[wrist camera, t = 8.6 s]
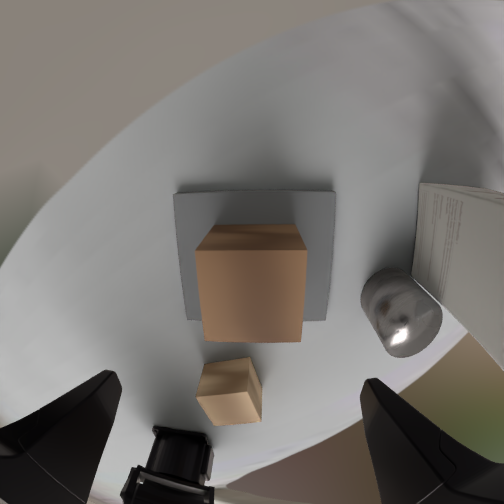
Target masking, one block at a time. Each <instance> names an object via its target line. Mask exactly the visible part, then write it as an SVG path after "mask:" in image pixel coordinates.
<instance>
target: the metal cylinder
mask: <svg viewBox="0 0 504 504" xmlns="http://www.w3.org/2000/svg"><path fill="white" fill-rule="evenodd" d="M361 306H362V309H363V310H364V312H365V314H366V316H367V317H368V319H369V321H370V323H371V324H372V326H373V328H374V330H375V331H376V333H377V335H378V337H379V338H380V340H381V342H382V344H383V346H384V347H385V349H386V351H387V352H388V353H389V354H390V355H391V356H394V357H398V358H405V357H409V356H412V355H415V354H417V353H419V352H420V351H422V350H423V349H425V348H426V347H427V346H428V345H429V344H430V343H431V342H432V341H433V339H434V338H435V337H436V335H437V334H438V332H439V329H440V327H441V324H442V310H441V307H440V306H439V304H438V303H437V302H436V301H435V300H434V299H433V298H432V297H431V296H430V295H429V294H428V293H427V292H425V291H424V290H423V289H422V288H421V287H420V286H419V285H418V284H417V283H416V282H415V281H414V280H413V279H412V278H411V277H410V276H409V275H407V274H406V273H405V272H404V271H403V270H401V269H399V268H392V267H391V268H385V269H382V270H380V271H378V272H377V273H375V274H374V275H373V276H372V277H371V278H370V279H369V280H368V281H367V282H366V284H365V286H364V288H363V290H362V293H361Z"/></svg>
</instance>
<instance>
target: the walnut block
mask: <svg viewBox="0 0 504 504" xmlns="http://www.w3.org/2000/svg"><path fill="white" fill-rule="evenodd" d="M195 258H196V269H197V279H198V289H199V298H200V307H201V315H202V323H203V331H204V338H205V341H217V342H255V343H277V342H301V334H302V323H303V311H304V298H305V284H306V268H307V248H306V246H305V244H304V242H303V240H302V237H301V235H300V233H299V231H298V229H297V227H296V225H295V224H240V225H214V226H213V227H212V228H211V230H210V231H209V232H208V234H207V235H206V236H205V238H204V239H203V240H202V242H201V243H200V244H199V246H198V247H197V248H196V250H195Z"/></svg>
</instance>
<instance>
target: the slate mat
mask: <svg viewBox="0 0 504 504" xmlns="http://www.w3.org/2000/svg"><path fill="white" fill-rule="evenodd" d="M173 199H174V212H175V224H176V235H177V245H178V255H179V263H180V272H181V280H182V287H183V295H184V302H185V308H186V315H187V320H200V321H202V315H201V307H200V298H199V289H198V279H197V269H196V258H195V250H196V248H197V247H198V246H199V244H200V243H201V242H202V240H203V239H204V238H205V236H206V235H207V234H208V232H209V231H210V230H211V228H212V227H213V226H214V225H240V224H295V225H296V227H297V229H298V231H299V233H300V235H301V237H302V240H303V242H304V244H305V246H306V248H307V268H306V284H305V298H304V311H303V321H325V320H326V314H327V306H328V297H329V288H330V278H331V267H332V255H333V241H334V225H335V204H336V192H334V191H319V190H235V191H206V192H185V193H176V194H173Z"/></svg>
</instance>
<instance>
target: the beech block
mask: <svg viewBox="0 0 504 504" xmlns="http://www.w3.org/2000/svg"><path fill="white" fill-rule="evenodd" d="M196 399H197V400H198V402H199V403H200V405H201V406H202V408H203V410H204V411H205V413H206V414H207V416H208V417H209V419H210V420H211V422H212V423H213V425H214V426H221V425H234V424H245V423H254V422H261V415H262V387H261V384H260V381H259V379H258V376H257V374H256V371H255V369H254V366H253V364H252V361H251V358H250V357H246V358H241V359H234V360H228V361H221V362H214V363H207V364H204V368H203V371H202V375H201V378H200V382H199V386H198V389H197V393H196Z"/></svg>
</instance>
